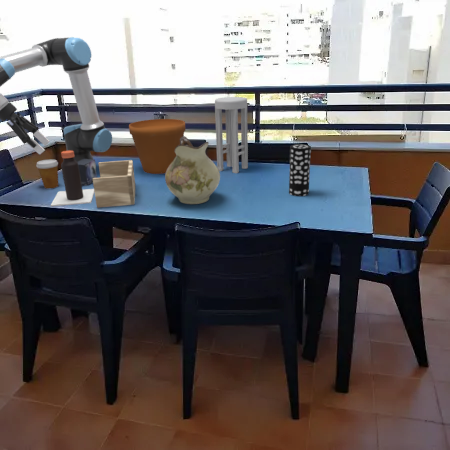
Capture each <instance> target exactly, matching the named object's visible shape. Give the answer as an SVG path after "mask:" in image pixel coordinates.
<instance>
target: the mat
mask: <svg viewBox="0 0 450 450" xmlns="http://www.w3.org/2000/svg"><path fill="white" fill-rule="evenodd" d="M82 190H83V198H81V199H78V200H68V199H67V196H66V190H60V191H57V193H56V194H55V196H54V199H53V200H52V202H51V204H50V206H51V207H59V206H61V207H62V206H70V205H82V204H92V201H93V199H94V196H95V192H94V188H86V189H82Z"/></svg>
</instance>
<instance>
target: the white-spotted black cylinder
mask: <svg viewBox="0 0 450 450" xmlns="http://www.w3.org/2000/svg"><path fill="white" fill-rule="evenodd" d="M311 147H312V146H311V145H309V144H303V143H301V144H300V143H297V144H292V145H290V147H289V177H288V179H289V180H288V181H289V183H288V194H289V195H291V196H294V197H305V196H308V195H309V194H310V176H311V175H310V172H311V171H310V170H311V153H312V150H311V149H312V148H311Z"/></svg>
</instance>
